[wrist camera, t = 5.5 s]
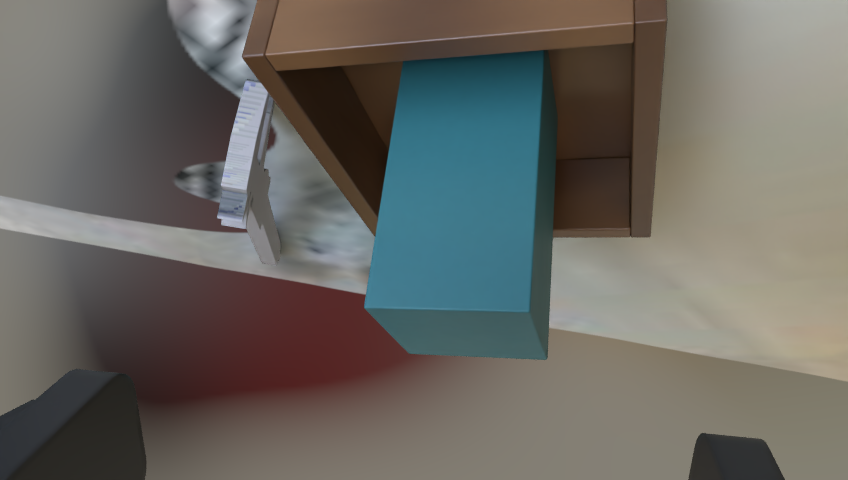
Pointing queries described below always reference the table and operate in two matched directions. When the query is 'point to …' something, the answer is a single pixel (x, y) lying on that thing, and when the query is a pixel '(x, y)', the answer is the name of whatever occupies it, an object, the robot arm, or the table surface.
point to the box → (468, 36)
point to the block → (468, 208)
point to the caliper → (250, 174)
